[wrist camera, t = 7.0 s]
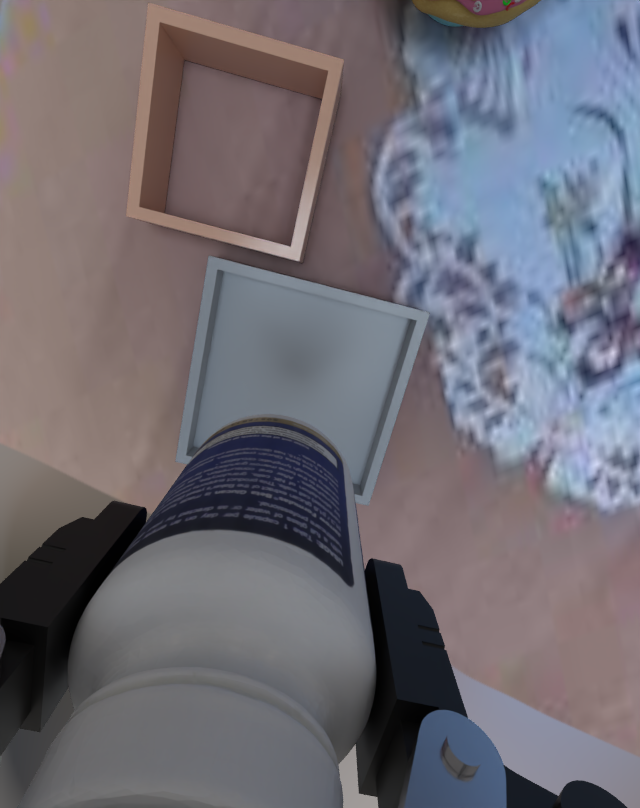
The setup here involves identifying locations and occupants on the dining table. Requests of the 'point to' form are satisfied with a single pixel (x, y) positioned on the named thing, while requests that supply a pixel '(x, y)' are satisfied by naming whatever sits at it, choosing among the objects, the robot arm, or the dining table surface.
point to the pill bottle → (225, 639)
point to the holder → (237, 54)
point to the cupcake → (473, 11)
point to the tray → (300, 362)
